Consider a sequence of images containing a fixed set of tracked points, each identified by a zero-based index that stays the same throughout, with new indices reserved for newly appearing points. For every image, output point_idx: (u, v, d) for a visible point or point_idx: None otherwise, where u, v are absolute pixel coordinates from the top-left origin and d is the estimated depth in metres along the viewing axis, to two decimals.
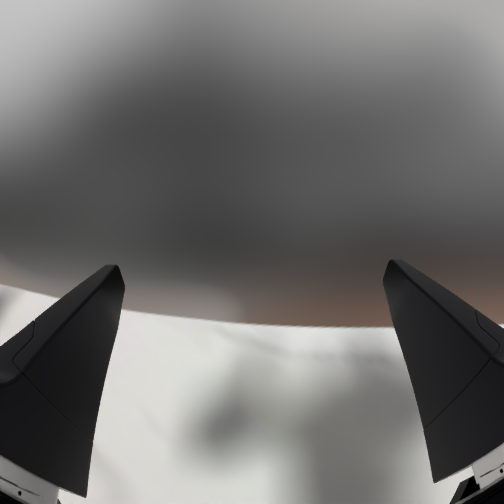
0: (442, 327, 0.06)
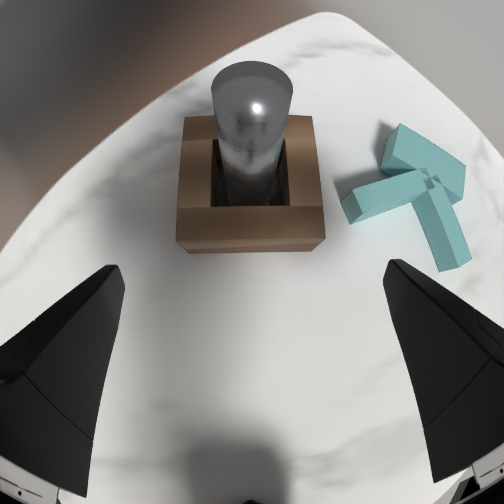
0: (442, 327, 0.06)
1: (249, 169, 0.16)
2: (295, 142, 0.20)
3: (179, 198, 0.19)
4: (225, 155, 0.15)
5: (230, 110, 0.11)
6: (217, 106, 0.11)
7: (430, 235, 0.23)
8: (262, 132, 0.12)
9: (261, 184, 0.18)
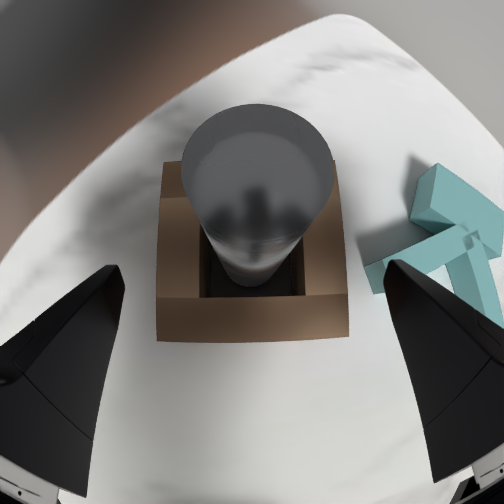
0: (442, 327, 0.06)
1: (252, 270, 0.11)
2: None
3: (158, 284, 0.14)
4: (215, 250, 0.11)
5: (216, 221, 0.06)
6: (193, 207, 0.06)
7: None
8: (276, 248, 0.07)
9: (267, 273, 0.13)
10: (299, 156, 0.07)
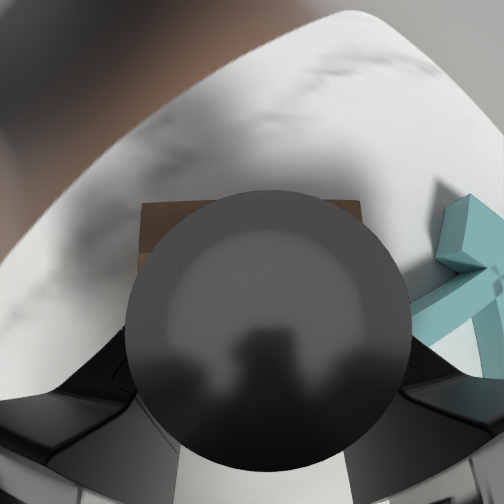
0: None
1: None
2: None
3: None
4: None
5: (200, 448, 0.03)
6: None
7: (483, 344, 0.15)
8: None
9: None
10: (355, 319, 0.03)
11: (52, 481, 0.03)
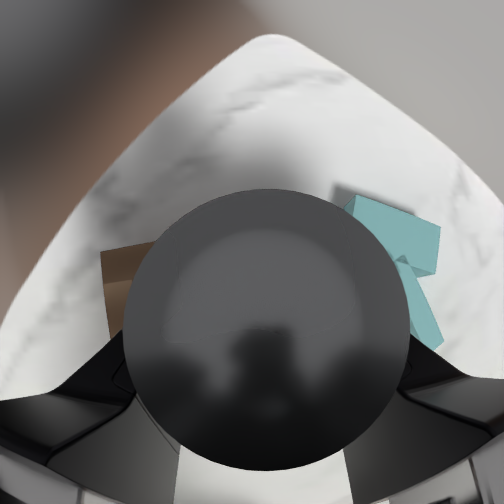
0: None
1: None
2: None
3: None
4: None
5: (197, 446, 0.03)
6: None
7: None
8: None
9: None
10: (352, 318, 0.03)
11: (52, 481, 0.03)
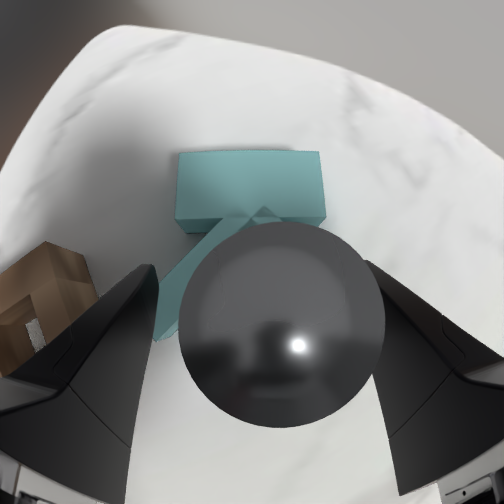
0: (403, 333, 0.06)
1: None
2: (39, 294, 0.13)
3: None
4: None
5: (232, 410, 0.04)
6: None
7: None
8: None
9: None
10: (343, 313, 0.05)
11: None
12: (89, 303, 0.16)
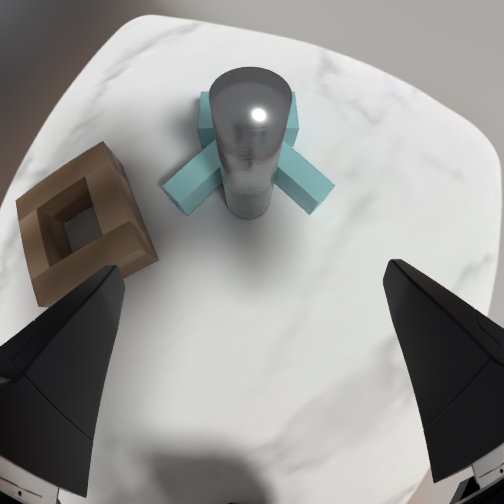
0: (442, 327, 0.06)
1: (248, 177, 0.16)
2: (93, 174, 0.19)
3: (29, 271, 0.18)
4: (223, 162, 0.15)
5: (227, 119, 0.11)
6: (214, 114, 0.11)
7: (279, 183, 0.24)
8: (260, 141, 0.12)
9: (259, 191, 0.18)
10: (273, 91, 0.11)
11: None
12: (127, 190, 0.22)
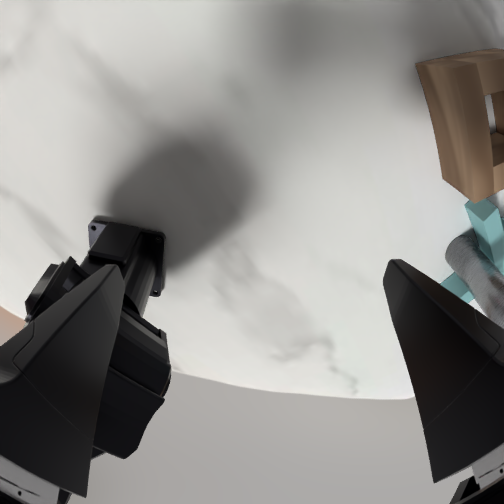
0: (442, 327, 0.06)
1: (491, 307, 0.17)
2: None
3: (483, 63, 0.11)
4: None
5: None
6: None
7: None
8: None
9: (475, 295, 0.20)
10: None
11: None
12: None
